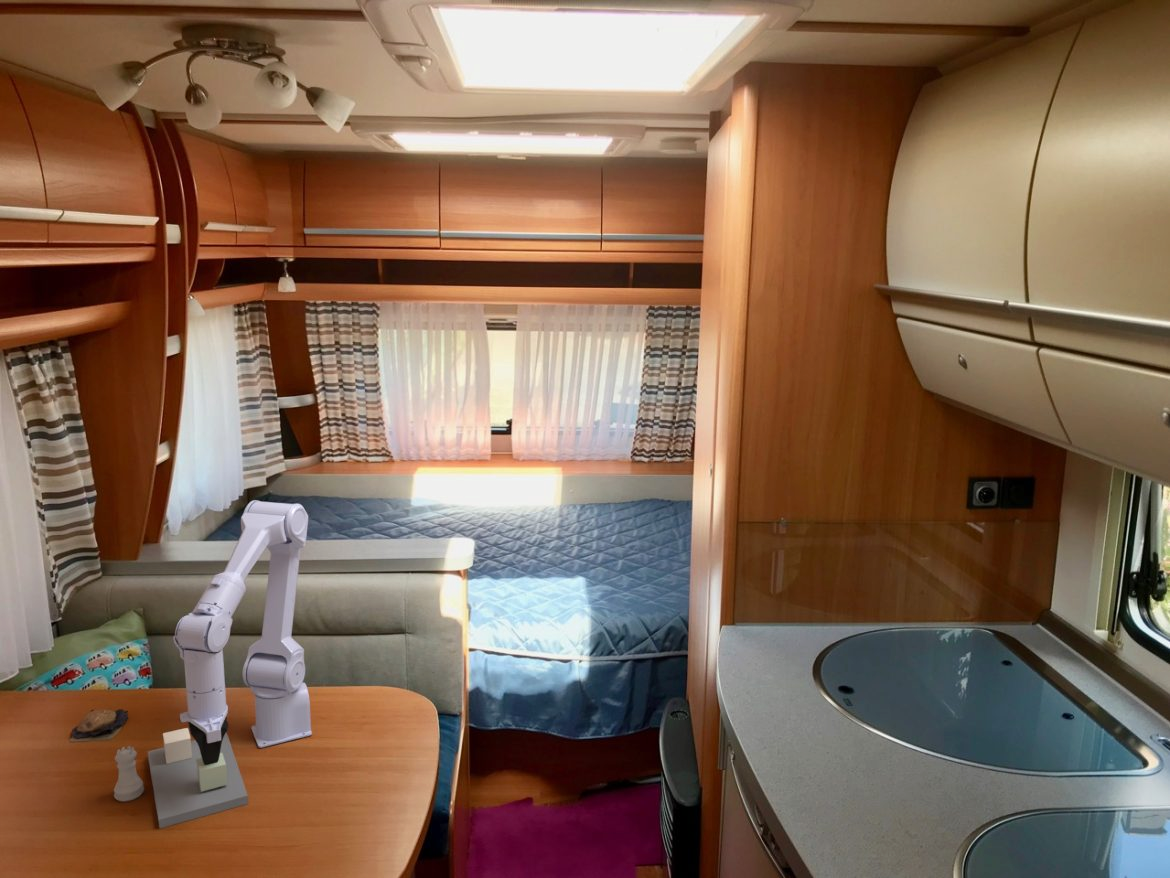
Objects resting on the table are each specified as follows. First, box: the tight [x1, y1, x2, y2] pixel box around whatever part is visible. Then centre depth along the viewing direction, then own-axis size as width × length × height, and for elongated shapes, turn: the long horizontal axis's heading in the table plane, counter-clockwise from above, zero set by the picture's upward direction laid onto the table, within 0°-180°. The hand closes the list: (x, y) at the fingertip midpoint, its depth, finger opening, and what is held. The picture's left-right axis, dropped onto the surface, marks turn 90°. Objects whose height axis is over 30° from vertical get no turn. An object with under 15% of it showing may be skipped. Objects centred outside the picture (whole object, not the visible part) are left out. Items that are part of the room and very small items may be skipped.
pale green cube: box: [196, 753, 227, 792], centre depth 141 cm, size 4×4×4 cm
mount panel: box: [147, 732, 249, 829], centre depth 145 cm, size 13×22×4 cm, turn 31°
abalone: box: [69, 708, 129, 744], centre depth 161 cm, size 11×8×4 cm
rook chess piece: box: [113, 745, 145, 803], centre depth 140 cm, size 4×4×8 cm
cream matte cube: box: [162, 727, 192, 764], centre depth 149 cm, size 4×4×4 cm
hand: (210, 761), depth 141 cm, fingers closed, pressing on pale green cube
